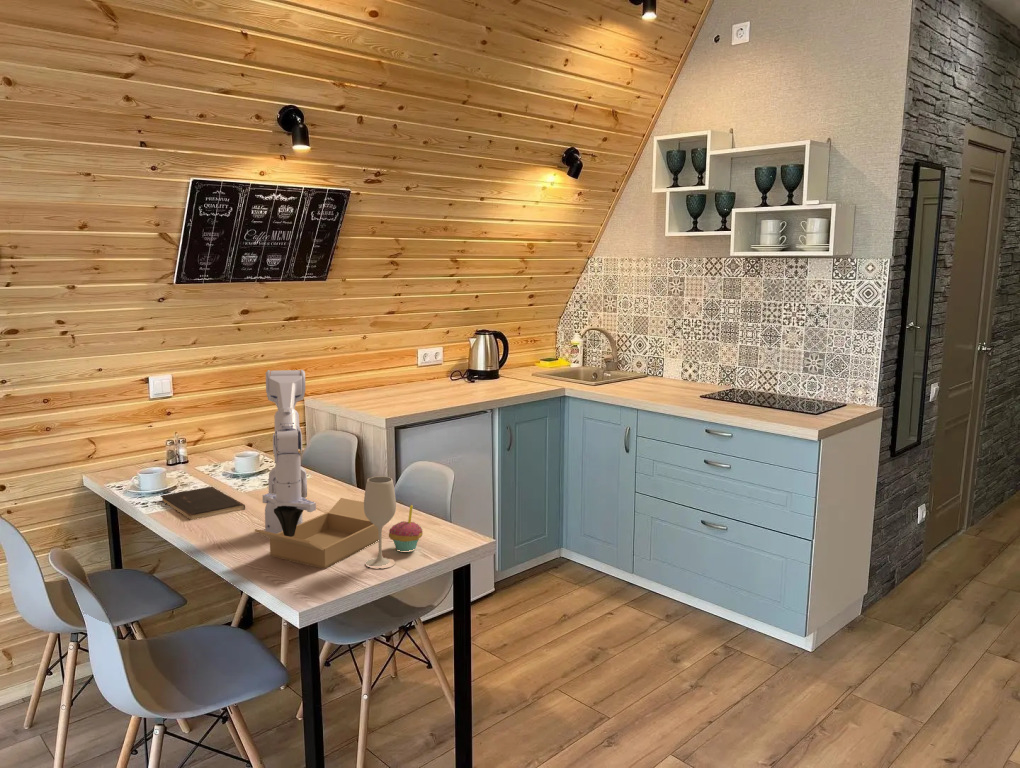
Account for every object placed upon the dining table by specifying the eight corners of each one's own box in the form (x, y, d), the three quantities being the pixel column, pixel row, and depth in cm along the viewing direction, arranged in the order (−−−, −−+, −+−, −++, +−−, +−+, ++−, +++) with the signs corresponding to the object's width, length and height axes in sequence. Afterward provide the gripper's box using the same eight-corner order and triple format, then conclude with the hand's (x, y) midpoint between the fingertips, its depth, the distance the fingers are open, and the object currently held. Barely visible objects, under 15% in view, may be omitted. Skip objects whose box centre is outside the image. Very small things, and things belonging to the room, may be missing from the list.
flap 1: (310, 541, 179) (309, 543, 179) (324, 548, 184) (323, 550, 184) (255, 529, 186) (254, 531, 186) (270, 536, 191) (269, 538, 191)
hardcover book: (189, 522, 217) (189, 514, 216) (160, 503, 233) (160, 495, 233) (245, 511, 227) (245, 503, 227) (213, 493, 244) (213, 486, 244)
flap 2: (340, 497, 215) (341, 499, 215) (328, 512, 211) (328, 513, 211) (391, 507, 208) (391, 508, 208) (379, 522, 203) (379, 523, 204)
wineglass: (373, 572, 183) (373, 485, 180) (358, 562, 189) (357, 478, 186) (401, 565, 188) (401, 480, 185) (386, 555, 194) (385, 473, 191)
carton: (270, 556, 192) (269, 536, 191) (328, 529, 211) (327, 512, 211) (325, 569, 185) (324, 548, 184) (379, 540, 204) (379, 522, 203)
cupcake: (406, 541, 204) (406, 497, 202) (429, 549, 199) (430, 503, 197) (381, 550, 198) (381, 504, 196) (405, 558, 192) (405, 511, 190)
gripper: (252, 480, 182) (254, 535, 185) (301, 489, 176) (302, 546, 178) (273, 473, 189) (275, 527, 191) (321, 481, 182) (322, 537, 185)
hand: (289, 536), depth 185 cm, fingers closed
